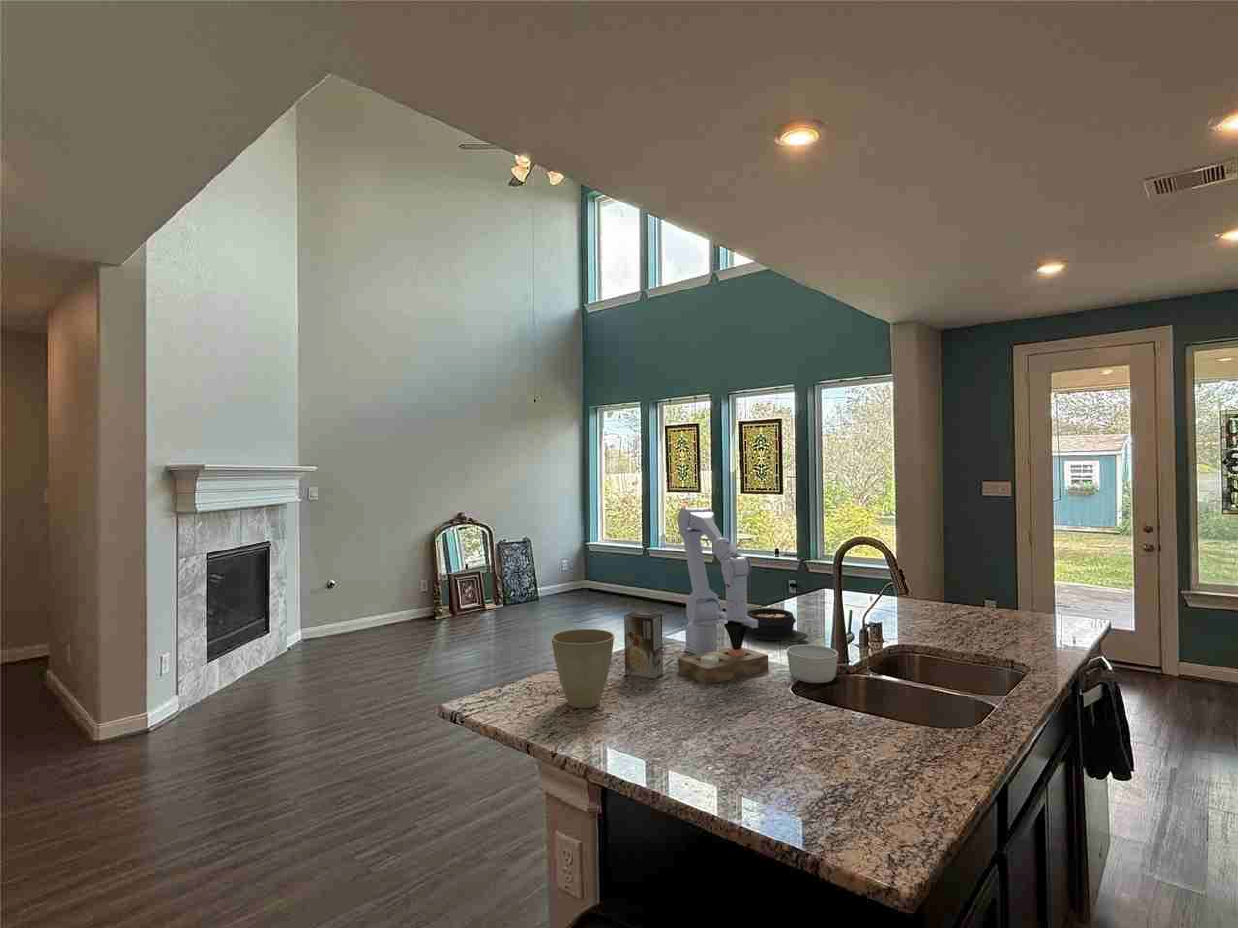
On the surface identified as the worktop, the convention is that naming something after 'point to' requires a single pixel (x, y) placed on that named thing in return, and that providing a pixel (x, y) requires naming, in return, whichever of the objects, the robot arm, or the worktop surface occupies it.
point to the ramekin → (812, 663)
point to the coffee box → (643, 644)
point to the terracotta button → (737, 652)
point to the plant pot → (583, 664)
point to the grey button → (709, 659)
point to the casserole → (774, 626)
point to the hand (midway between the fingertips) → (736, 648)
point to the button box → (722, 666)
